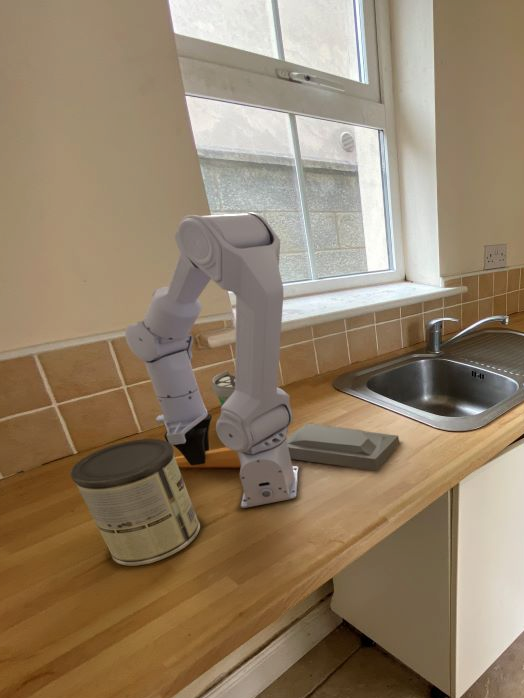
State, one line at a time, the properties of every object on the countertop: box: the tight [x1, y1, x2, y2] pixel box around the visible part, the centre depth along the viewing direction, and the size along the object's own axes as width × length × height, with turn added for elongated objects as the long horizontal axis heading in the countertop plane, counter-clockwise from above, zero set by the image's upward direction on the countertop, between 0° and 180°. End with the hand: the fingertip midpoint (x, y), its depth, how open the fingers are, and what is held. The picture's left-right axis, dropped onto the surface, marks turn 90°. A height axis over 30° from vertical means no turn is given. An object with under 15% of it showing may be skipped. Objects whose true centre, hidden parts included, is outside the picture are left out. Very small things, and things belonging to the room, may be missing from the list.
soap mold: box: [286, 423, 400, 471], centre depth 88 cm, size 10×20×4 cm, turn 82°
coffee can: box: [69, 438, 201, 567], centre depth 62 cm, size 10×10×14 cm
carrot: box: [175, 446, 241, 469], centre depth 81 cm, size 20×4×4 cm, turn 97°
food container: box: [211, 370, 235, 406], centre depth 94 cm, size 12×6×10 cm, turn 62°
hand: (200, 459), depth 81 cm, fingers closed on carrot, 2 cm apart
